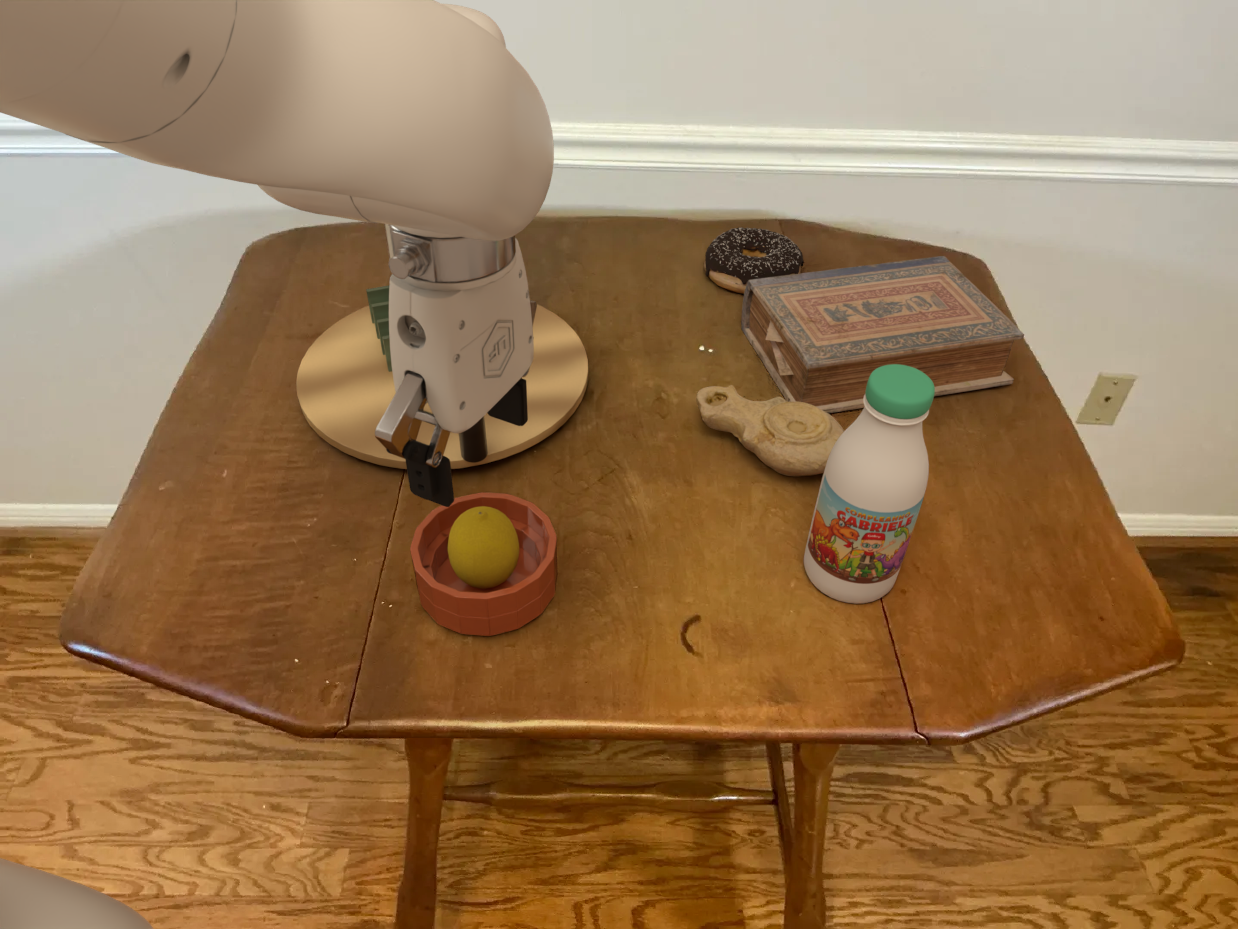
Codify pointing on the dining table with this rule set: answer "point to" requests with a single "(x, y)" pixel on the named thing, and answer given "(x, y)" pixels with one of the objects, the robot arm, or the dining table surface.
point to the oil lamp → (773, 429)
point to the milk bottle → (872, 490)
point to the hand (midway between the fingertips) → (471, 456)
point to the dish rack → (364, 387)
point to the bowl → (488, 606)
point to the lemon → (483, 547)
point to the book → (875, 330)
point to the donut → (750, 257)
